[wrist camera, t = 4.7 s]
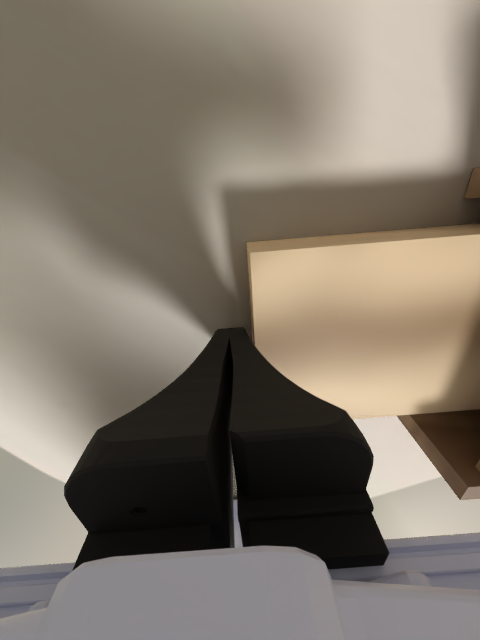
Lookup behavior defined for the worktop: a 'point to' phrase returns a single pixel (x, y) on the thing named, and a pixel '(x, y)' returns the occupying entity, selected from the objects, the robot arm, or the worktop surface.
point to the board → (373, 317)
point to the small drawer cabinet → (452, 429)
